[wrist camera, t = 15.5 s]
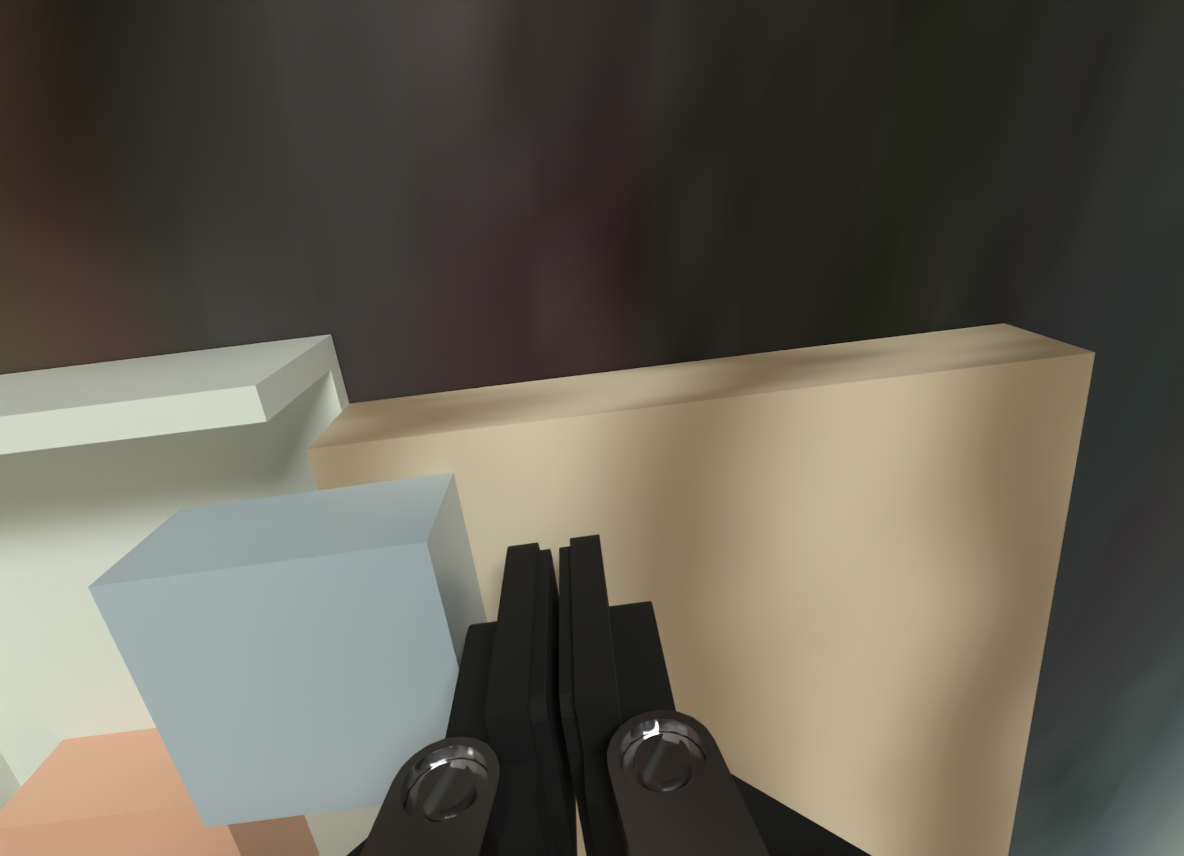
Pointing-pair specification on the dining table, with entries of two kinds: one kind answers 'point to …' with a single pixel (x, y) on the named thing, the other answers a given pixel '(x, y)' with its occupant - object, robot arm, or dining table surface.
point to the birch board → (797, 550)
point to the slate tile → (298, 641)
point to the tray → (133, 517)
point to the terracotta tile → (128, 808)
